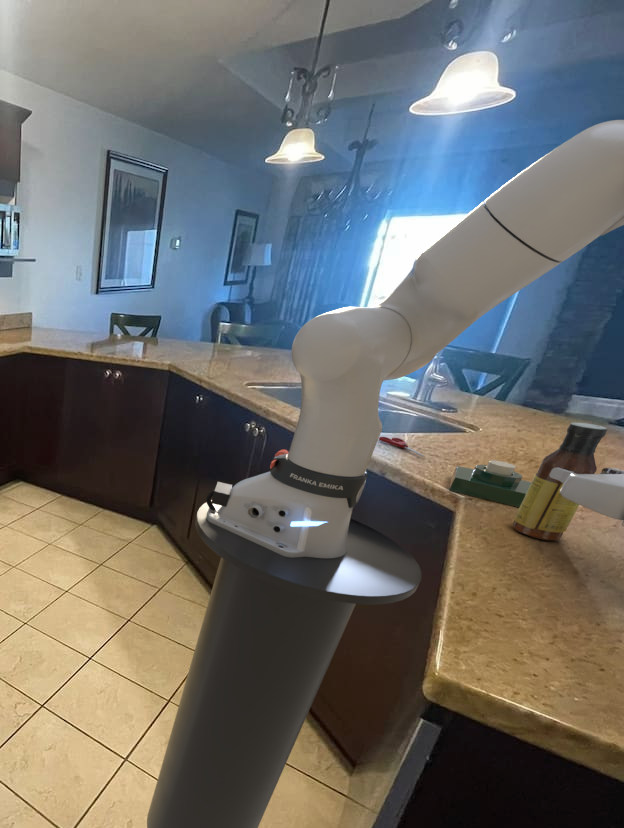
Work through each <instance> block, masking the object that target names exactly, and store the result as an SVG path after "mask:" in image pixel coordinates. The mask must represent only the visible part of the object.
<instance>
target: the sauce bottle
mask: <svg viewBox="0 0 624 828" xmlns="http://www.w3.org/2000/svg"><path fill="white" fill-rule="evenodd" d="M607 432H608V428H607V427H605V426H603V425H602V426H601V425H597V424H592V423H586V422H570V424H569V425H568V426H567V429H566V434H565V437H564V439H563V441H562V443H561V444H560V445H559V447H558V449H556V450H554V451H553V452H551V453H549V454H548V455H546V456H545V457H544V458H543V459H542V462H541V463H540V466H539V467H538V470H537V472H536V473H535V474H534V477H533V478H532V481H531V482H532V483H531V485H530V487H529V489H528V491H527V493H526V495H525V497H524V499H523V502H522V504H521V506H520V508H519V507H518V509H517V511H516V514H515V516H514V518H513V522H512V528H513V529H514V530H515V531H517V532H518V533H519V534H520V533H521V534H523V535H525V536H527V537H530V538H534V539H538V540H542V541H553V542H555V541H556V542H557V541H558V540H560V539H561V538H562V536H563V535H564V533H565V532H566V531H567V530H568V527H569V525H570V523H571V522H572V520H573V518H574V515H575V514H576V512H577V510H578V508H579V506H580V505H578V504H576V503H574V502H572V501H569V500H567V499H565V498H564V497H563V496H562V495H561V494H560V493H559V491H560V489H561V487H562V485H563V483H562V482H561V481H559V480H556V479H553V478H551V477H550V476H549V474H550V473H551V471H552V469H553V468H566V469H569V470H572V471H574V473H576V474H596V472H597V468H598V467H597V465H596V458H595V453H596V450H597V447H598V445H599V443H600V442H601V440H602V439H603V438H604V437H605V436H606V434H607Z"/></svg>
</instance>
